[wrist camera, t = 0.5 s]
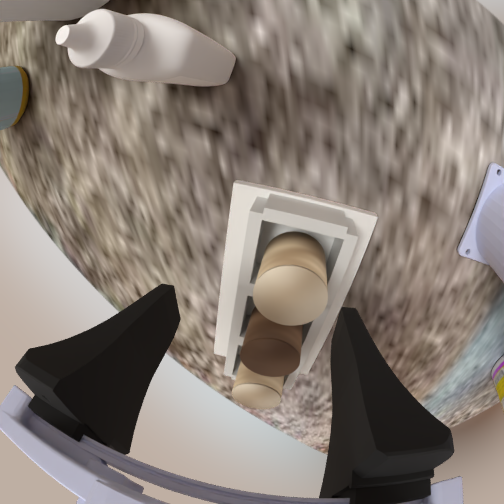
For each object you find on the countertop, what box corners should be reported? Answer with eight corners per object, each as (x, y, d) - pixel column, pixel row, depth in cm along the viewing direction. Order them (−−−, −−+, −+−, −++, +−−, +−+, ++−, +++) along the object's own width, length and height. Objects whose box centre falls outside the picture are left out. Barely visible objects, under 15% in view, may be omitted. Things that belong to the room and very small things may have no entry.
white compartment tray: (375, 212, 18) (387, 234, 15) (307, 368, 28) (305, 395, 25) (236, 179, 19) (222, 195, 16) (215, 347, 28) (206, 373, 25)
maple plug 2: (333, 239, 17) (338, 276, 13) (315, 290, 19) (315, 331, 16) (270, 224, 17) (259, 258, 14) (259, 277, 19) (247, 316, 16)
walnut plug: (309, 305, 20) (307, 347, 16) (295, 341, 22) (291, 381, 18) (255, 293, 20) (244, 333, 17) (247, 330, 22) (236, 369, 19)
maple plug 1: (291, 352, 23) (286, 391, 19) (280, 377, 25) (274, 412, 21) (245, 342, 23) (234, 379, 19) (239, 368, 25) (229, 402, 22)
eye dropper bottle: (200, 110, 17) (68, 133, 7) (150, 62, 15) (10, 55, 5) (247, 66, 15) (153, 15, 5) (192, 18, 13) (70, -39, 3)
